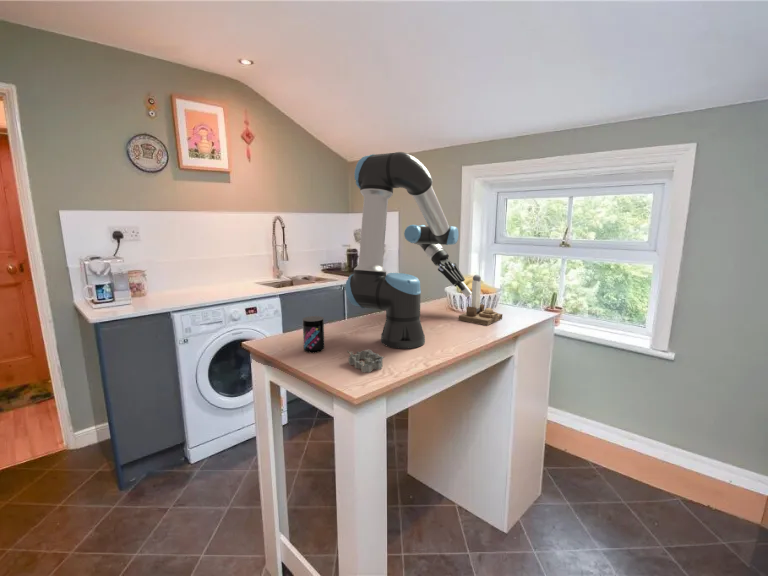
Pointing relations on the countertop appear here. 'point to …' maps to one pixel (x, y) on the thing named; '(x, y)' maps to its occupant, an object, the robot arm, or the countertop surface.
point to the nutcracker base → (479, 316)
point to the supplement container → (313, 333)
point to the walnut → (488, 311)
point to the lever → (476, 292)
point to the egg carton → (366, 360)
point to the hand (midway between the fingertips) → (469, 295)
